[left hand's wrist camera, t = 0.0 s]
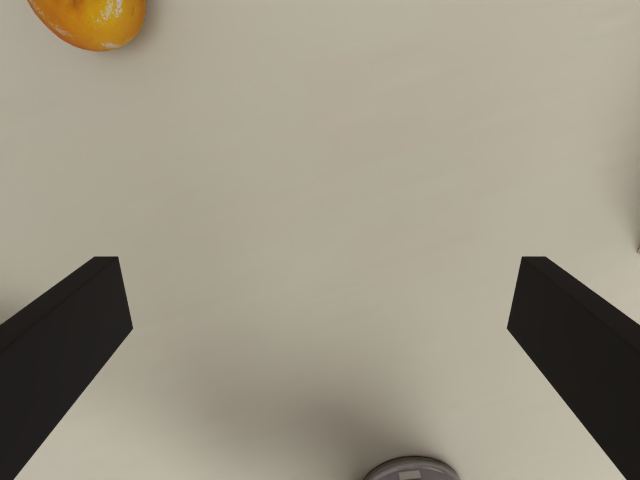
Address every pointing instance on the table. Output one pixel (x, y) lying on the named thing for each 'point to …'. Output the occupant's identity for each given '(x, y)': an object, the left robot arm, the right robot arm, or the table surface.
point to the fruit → (92, 21)
